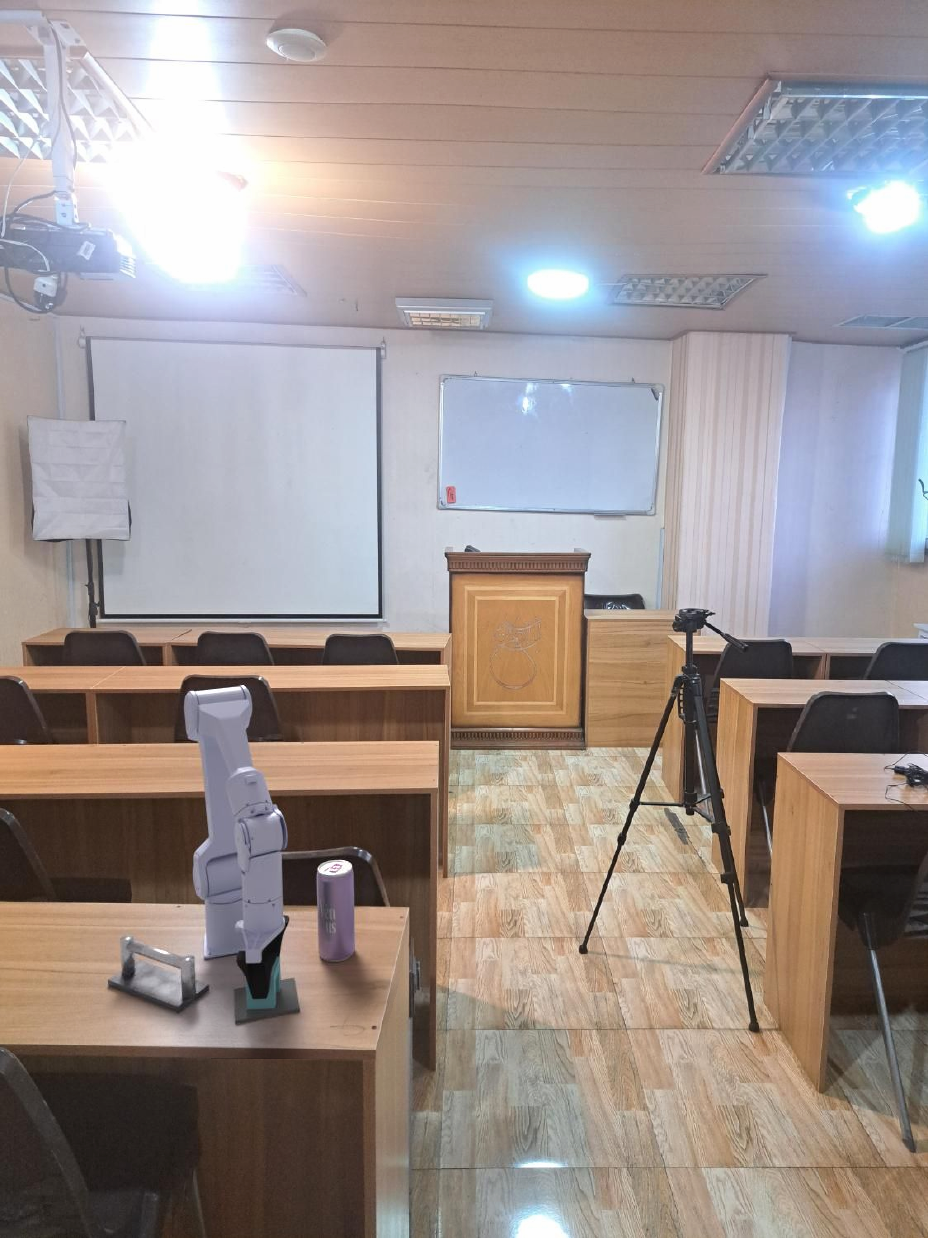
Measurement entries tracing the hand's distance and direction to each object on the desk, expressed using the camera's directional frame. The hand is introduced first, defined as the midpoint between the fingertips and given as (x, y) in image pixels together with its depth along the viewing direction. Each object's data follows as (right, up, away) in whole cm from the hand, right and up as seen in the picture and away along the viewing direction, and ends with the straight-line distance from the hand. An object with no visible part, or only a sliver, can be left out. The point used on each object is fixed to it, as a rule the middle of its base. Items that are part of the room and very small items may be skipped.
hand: (265, 982), depth 110 cm
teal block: (0, -3, 0) cm, 3 cm away
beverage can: (+8, -2, +13) cm, 16 cm away
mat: (0, -3, 0) cm, 3 cm away
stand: (-17, -3, +4) cm, 18 cm away
